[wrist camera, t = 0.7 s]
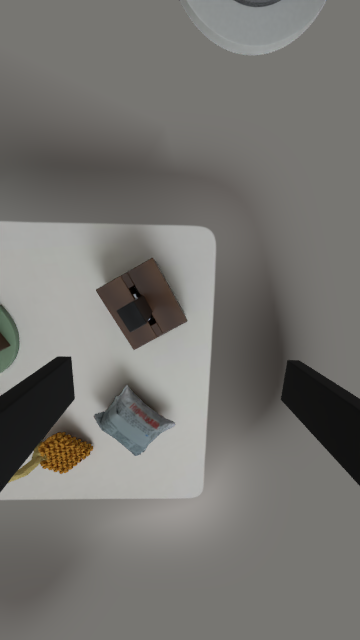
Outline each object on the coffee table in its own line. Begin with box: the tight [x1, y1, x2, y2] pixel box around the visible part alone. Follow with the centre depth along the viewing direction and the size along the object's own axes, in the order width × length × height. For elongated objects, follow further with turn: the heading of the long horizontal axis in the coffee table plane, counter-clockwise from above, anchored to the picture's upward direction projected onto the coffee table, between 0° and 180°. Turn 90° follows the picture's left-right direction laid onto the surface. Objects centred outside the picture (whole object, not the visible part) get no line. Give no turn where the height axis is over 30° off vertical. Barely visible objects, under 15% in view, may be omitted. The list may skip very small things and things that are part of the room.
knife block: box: [96, 258, 187, 350], centre depth 29 cm, size 9×10×5 cm
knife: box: [117, 292, 153, 332], centre depth 25 cm, size 2×4×13 cm, turn 28°
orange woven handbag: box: [8, 432, 93, 483], centre depth 34 cm, size 7×10×15 cm
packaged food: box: [94, 385, 175, 456], centre depth 34 cm, size 9×12×5 cm
